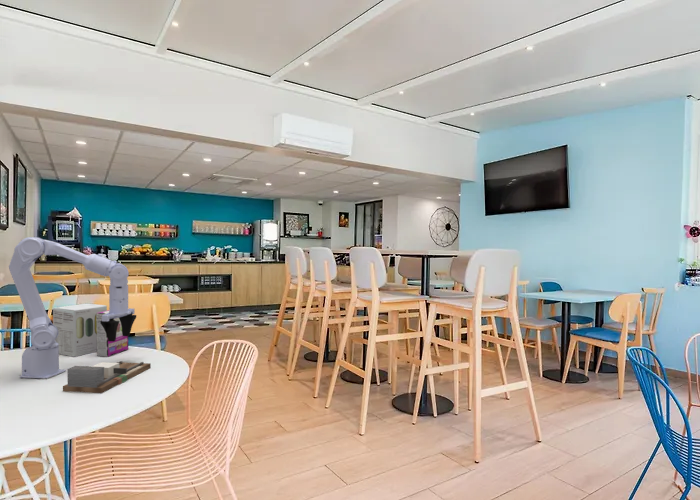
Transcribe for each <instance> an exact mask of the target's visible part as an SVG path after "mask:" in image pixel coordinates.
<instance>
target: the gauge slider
mask: <svg viewBox="0 0 700 500" xmlns="http://www.w3.org/2000/svg"><path fill="white" fill-rule="evenodd" d="M91 367H104V378H109V377H111V376H114V375H116V374H127V368H119V363H117V362H102V361H101V362H99V363H96V364H94V365H92V366H91Z"/></svg>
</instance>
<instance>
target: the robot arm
mask: <svg viewBox="0 0 700 500" xmlns="http://www.w3.org/2000/svg"><path fill="white" fill-rule="evenodd" d="M43 255H44V256H54V255H56V256H60V257H62V258H65V259H67V260H72V261H73V262H76V263H79V264H82V265H83V267H84V269H85V270H87V271H89V272H92V273H94V274H98V275H100V276H101V277H102V276H103V277H109V279H110V280H109V281H110V282H109V283H110V284H109V287H108V290H109V291H108V292H109V294H108V295H109V299H108V300H109V302H108V303H109V307H108V310H109V313H107V314H105V315H102V320H101V321H100V324H101V325H102V326H103V328H104V330H105V332H106V335H107V338H108V341H115V340H116V331H117V327H118V324H119V322H121V326H122V335H123V336H128V337H129V336H131V335H130V334H131V332H132V331H131V330H132V328H133V324H134V323H135V320H136V318H137V315H136V314H135V308H129V281H128V277H129V274H130V272H129V269H128V268H127V267H126V265H124V264H122V263H119V262H118V261H117V260H115V259H114V260H111V259H109V258H106V257H103V254H102V253H98V254H96V253H92V254H89V255H87V254H86V253H82V252H80V251H78V250H75V249H73V248H71V247H69V246H66V245H63V244H62V243H59V242H56V241H52V240H48V239H43V238H41V237H39V236H37V237H36V236H33V237H32V236H29V237H25V238H22V239H21V240H20V241H19V242H18V243H17V245H16V246H14V250H13V254H12V257H11V259H10V262H9V265H8V269H9V272H10V275H11V278H12V280H13V283H14V285H15V288H16V290H17V293H18V296H19V298H20V302H21V303H22V306H23V308H24V310H25V314H26V316H27V319H28V321H29V322H28V323H29V330H30V333H31V334H30V335H31V336H30V343H31V346H29V347H27V348H25V349H24V351H23V352H22V355H21V375H19V378H27V379H49V378H52V377H54V376H56V375H57V376H58V375H60V374H62V373H65V372H66V371H67V370H66V369H62V368H61V369H60V354H59V344H58V343H57V342H56V341H55V339H56V338H57V336H58V329H57V327H56V326H54V325H53V321H52V320H51V318H50V316H49V315H48V314H47V310H46V309H45V306H44V303H43V301H42V297H41V294H40V292H39V289H38V286H37V284H36V282H35V280H34V277H33V276H34V275H33V274H32V271H31V268H32V266H33V265H34V263H35V262H36V261H37V259H40V258H41V256H43ZM116 318H119V319H120V321H115V320H114V319H116Z"/></svg>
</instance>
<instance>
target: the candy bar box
mask: <svg viewBox="0 0 700 500" xmlns="http://www.w3.org/2000/svg"><path fill="white" fill-rule="evenodd" d="M107 313H109V309H107V311H103V312H99V313H96V326H97V357H102V358H105V357H106V358H109V357H112V356H115V355H118V354H120V353H122V352H126V351H128V350H129V336H123V335H122V326H121V322H119V324H118V327H117V331H116V340H115V341H108V338H107V335H106V332H105V330H104V328H103V326H102V325H101V324H100V321H101V320H102V315H105V314H107ZM114 320H115V321H120V319H119V318H116V319H114Z"/></svg>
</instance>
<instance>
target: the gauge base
mask: <svg viewBox="0 0 700 500" xmlns="http://www.w3.org/2000/svg"><path fill="white" fill-rule="evenodd" d="M116 363H119V368H127V374H116V375H114V376H111V377H109V378H104V384H103V385H101V386H99V387H97V388H92V387H71V386H68V383H67V384H64V385H63V386H62V392H68V393H69V392H70V393H89V394H90V393H91V394H92V393H94V394H103V393H105V392H107V391H109V390H111V389H113V388H115V387H117V386H119V385H121V384H123V383H125V382H127V381H128V380H130V379H133V378H134V377H136V376H137V375H140V374H142V373H144V372H145V371H147V370H149V369H151V366H152V365H151V362H150V363H146V362H144V361H142V362H123V360H121V361H117V362H116Z"/></svg>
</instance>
